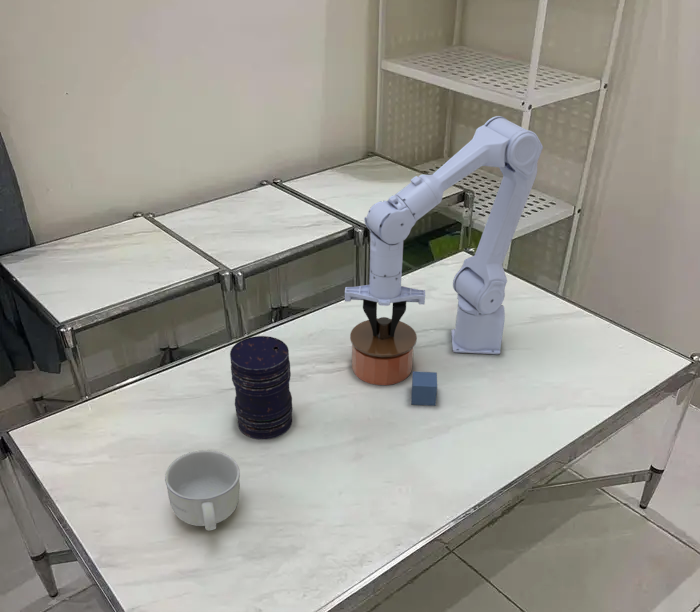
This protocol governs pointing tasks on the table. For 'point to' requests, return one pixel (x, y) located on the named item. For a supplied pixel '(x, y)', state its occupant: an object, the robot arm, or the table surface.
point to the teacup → (203, 487)
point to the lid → (383, 338)
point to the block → (424, 388)
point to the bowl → (381, 367)
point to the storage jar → (262, 386)
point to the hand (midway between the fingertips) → (383, 333)
